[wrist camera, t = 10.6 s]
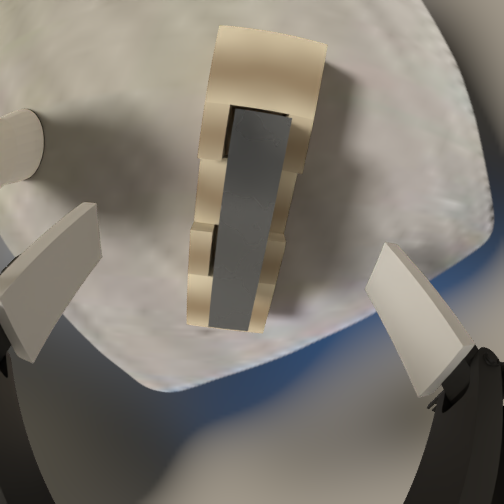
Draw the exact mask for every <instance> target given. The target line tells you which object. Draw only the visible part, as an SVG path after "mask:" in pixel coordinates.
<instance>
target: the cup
mask: <svg viewBox="0 0 504 504" xmlns="http://www.w3.org/2000/svg"><path fill="white" fill-rule="evenodd" d="M43 148H44V137H43V130H42V126H41V123H40V120H39V119H38V117H37V116H36V114H35V113H33V112H32V111H31V110H28V109H21V110H17V111H14V112H11V113H9V114H7V115H4V116H2V117H0V188H1V187H2V186H4V185H6V184H11V183H15V182H19V181H22V180H25V179H27V178H30V177H31V176H32V175H33V174H34V173H35V171H36V170H37V168H38V167H39V164H40V161H41V158H42V154H43Z"/></svg>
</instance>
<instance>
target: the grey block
mask: <svg viewBox="0 0 504 504" xmlns="http://www.w3.org/2000/svg"><path fill="white" fill-rule="evenodd" d="M291 122H292V118H289V117H284V116H279V115H274V114H268V113H262V112H256V111H250V110H243V109H235V115H234V121H233V127H232V134H231V140H230V147H229V153H228V160H227V167H226V174H225V181H224V188H223V196H222V203H221V211H220V219H219V227H218V235H217V244H216V253H215V262H214V271H213V281H212V291H211V301H210V312H209V323H208V327H214V328H222V329H231V330H240V331H248V328H249V324H250V319H251V315H252V310H253V306H254V301H255V297H256V292H257V287H258V283H259V278H260V274H261V269H262V264H263V259H264V255H265V250H266V245H267V241H268V236H269V231H270V226H271V221H272V217H273V212H274V207H275V202H276V197H277V192H278V187H279V183H280V178H281V173H282V168H283V163H284V158H285V153H286V147H287V142H288V137H289V132H290V127H291Z"/></svg>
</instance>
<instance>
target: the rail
mask: <svg viewBox="0 0 504 504" xmlns="http://www.w3.org/2000/svg"><path fill="white" fill-rule="evenodd" d="M326 51H327V44H323V43H320V42H316V41H312V40H308V39H304V38H300V37H296V36H291V35H286V34H281V33H276V32H271V31H265V30H258V29H251V28H243V27H234V26H222V25H220V26H219V30H218V35H217V39H216V44H215V49H214V54H213V59H212V64H211V70H210V75H209V81H208V87H207V93H206V99H205V105H204V112H203V119H202V126H201V133H200V140H199V148H198V157H197V158H200V166H199V175H198V185H197V195H196V205H195V217H194V223H193V225H192V228H191V231H190V246H189V265H188V289H187V324H188V325H195V326H202V327H208V323H209V312H210V301H211V291H212V281H213V271H214V262H215V253H216V244H217V235H218V227H219V219H220V211H221V203H222V196H223V188H224V181H225V174H226V167H227V160H228V153H229V147H230V140H231V134H232V127H233V121H234V115H235V109H243V110H250V111H256V112H262V113H268V114H274V115H279V116H284V117H289V118H292V122H291V127H290V132H289V137H288V142H287V147H286V153H285V158H284V163H283V168H282V173H281V178H280V183H279V187H278V192H277V197H276V202H275V207H274V212H273V217H272V221H271V226H270V231H269V236H268V241H267V245H266V250H265V255H264V259H263V264H262V269H261V274H260V278H259V283H258V287H257V292H256V297H255V301H254V306H253V310H252V315H251V319H250V324H249V328H248V331H244V332H254V333H263V330H264V327H265V323H266V319H267V316H268V312H269V308H270V304H271V301H272V297H273V293H274V289H275V285H276V282H277V278H278V274H279V270H280V266H281V262H282V258H283V254H284V250H285V246H286V240H285V237H284V231H285V226H286V222H287V218H288V213H289V209H290V204H291V200H292V195H293V191H294V186H295V182H296V177H297V173H300V174H302V173H303V168H304V164H305V159H306V154H307V150H308V145H309V140H310V135H311V131H312V126H313V121H314V116H315V111H316V106H317V100H318V95H319V90H320V85H321V79H322V74H323V68H324V62H325V57H326ZM210 328H214V327H210ZM218 329H222V328H218ZM226 330H231V329H226ZM235 331H240V330H235Z"/></svg>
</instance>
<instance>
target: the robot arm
mask: <svg viewBox="0 0 504 504" xmlns="http://www.w3.org/2000/svg"><path fill="white" fill-rule="evenodd" d="M101 258H102V252H101V244H100V235H99V225H98V213H97V203H88V202H83V203H81V204H80V205H79V206H77V207H76V208H75V209H73V210H72V211H71V212H69V213H68V214H67V215H66V216H64V217H63V218H62V219H61V220H59V221H58V222H57V223H56V224H55V225H53V226H52V227H51V228H50V229H49V230H47V231H46V232H45V233H44V234H43V235H42V236H41V237H39V238H38V239H37V240H36V241H35V242H34V243H33V244H32V245H31V246H29V247H28V248H27V249H26V250H25V251H24V252H23V253H22V254H20V255H19V256H17V257H15V258H14V259H13V260H12V261H11V262H10V263H9V264H8V265H7V267H5V268H4V269H3V270H2V272H1V274H0V504H55V502H54V500H53V498H52V496H51V494H50V492H49V490H48V488H47V486H46V484H45V481H44V479H43V477H42V475H41V472H40V470H39V467H38V465H37V462H36V460H35V457H34V455H33V451H32V449H31V446H30V443H29V440H28V436H27V433H26V430H25V426H24V423H23V420H22V415H21V411H20V407H19V403H18V398H17V394H16V388H15V383H14V377H13V371H12V363H11V357H10V354H9V353H8V349H9V348H10V346H11V345H12V347H13V349H14V351H15V352H16V354H17V355H18V357H20V358H22V359H24V360H27V361H29V362H31V363H34V361H35V359H36V357H37V355H38V354H39V352H40V350H41V348H42V346H43V345H44V343H45V341H46V340H47V338H48V336H49V334H50V332H51V331H52V329H53V328H54V326H55V325H56V323H57V321H58V320H59V318H60V316H61V315H62V313H63V312H64V310H65V309H66V307H67V306H68V304H69V303H70V301H71V300H72V298H73V297H74V295H75V294H76V292H77V291H78V289H79V288H80V287H81V285H82V284H83V282H84V281H85V280H86V278H87V277H88V275H89V274H90V273H91V271H92V270H93V269H94V267H95V266H96V265H97V263H98V262H99V261H100V259H101ZM365 291H366V292H367V294H368V296H369V298H370V300H371V301H372V303H373V305H374V307H375V309H376V311H377V313H378V315H379V316H380V318H381V320H382V322H383V324H384V326H385V328H386V330H387V332H388V334H389V336H390V338H391V340H392V342H393V344H394V346H395V348H396V350H397V352H398V354H399V356H400V358H401V361H402V363H403V365H404V367H405V369H406V371H407V373H408V375H409V378H410V380H411V382H412V384H413V387H414V389H415V392H416V394H417V396H418V397H423V396H427V395H431V394H432V393H433V392H434V391H435V390H436V389H437V388H438V387H439V386H440V385H442V387H443V389H444V390H443V391H442V392H441V393H440V394H439V395H438V396H437V397H436V398H435V399H434V400H433V401H432V402H431V403H430V404H429V405H428V407H427V408H428V409H429V408H430V407H432V406H433V405H434V404H437V406H435V407H434V408H433V409H432V411H434V412H435V414H434V419H433V423H432V427H431V430H430V434H429V437H428V441H427V444H426V448H425V450H424V453H423V456H422V459H421V462H420V465H419V468H418V471H417V473H416V476H415V478H414V481H413V483H412V485H411V488H410V491H409V492H408V495H407V497H406V499H405V501H404V503H403V504H504V406H503V399H504V362H500V361H499V359H498V358H497V356H496V355H495V354H494V353H493V352H492V351H491V350H490V349H488V348H485V347H481V348H480V349H479V350H478V348H477V347H476V345H475V343H474V341H473V340H472V338H471V337H470V336H469V334H468V333H467V331H466V330H465V328H464V327H463V325H462V324H461V322H460V321H459V320H458V319H457V317H456V316H455V314H454V313H453V311H452V310H451V309H450V308H449V306H448V305H447V303H446V302H445V301H444V300H443V298H442V297H441V296H440V294H439V293H438V292H437V291H436V289H435V288H434V287H433V286H432V285H431V283H430V282H429V281H428V279H427V278H426V277H425V276H424V275H423V273H422V272H421V271H420V270H419V269H418V268H417V266H416V265H415V264H414V263H413V262H412V261H411V259H410V258H409V257H408V256H407V255H406V254H405V253H404V252H403V250H402V249H401V248H400V247H399V246H398V245H397V244H392V243H386V242H385V243H384V245H383V248H382V251H381V253H380V255H379V258H378V260H377V263H376V265H375V267H374V270H373V272H372V274H371V277H370V279H369V281H368V283H367V285H366V288H365Z"/></svg>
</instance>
